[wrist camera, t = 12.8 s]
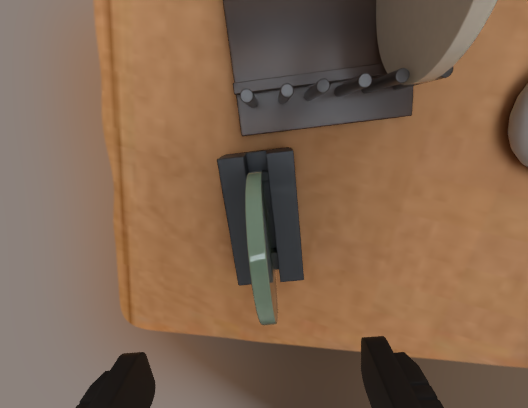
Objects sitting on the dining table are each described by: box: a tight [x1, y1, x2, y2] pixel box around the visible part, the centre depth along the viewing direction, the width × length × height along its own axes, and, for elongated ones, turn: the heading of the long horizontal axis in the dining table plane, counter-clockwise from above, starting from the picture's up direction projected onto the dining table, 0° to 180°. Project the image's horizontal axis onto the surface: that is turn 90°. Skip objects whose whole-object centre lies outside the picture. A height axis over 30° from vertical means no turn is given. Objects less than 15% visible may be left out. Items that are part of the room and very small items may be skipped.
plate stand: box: [217, 147, 304, 285], centre depth 24 cm, size 12×6×3 cm, turn 7°
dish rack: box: [223, 0, 453, 136], centre depth 17 cm, size 15×14×8 cm
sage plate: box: [245, 171, 278, 325], centre depth 20 cm, size 11×1×11 cm, turn 7°
